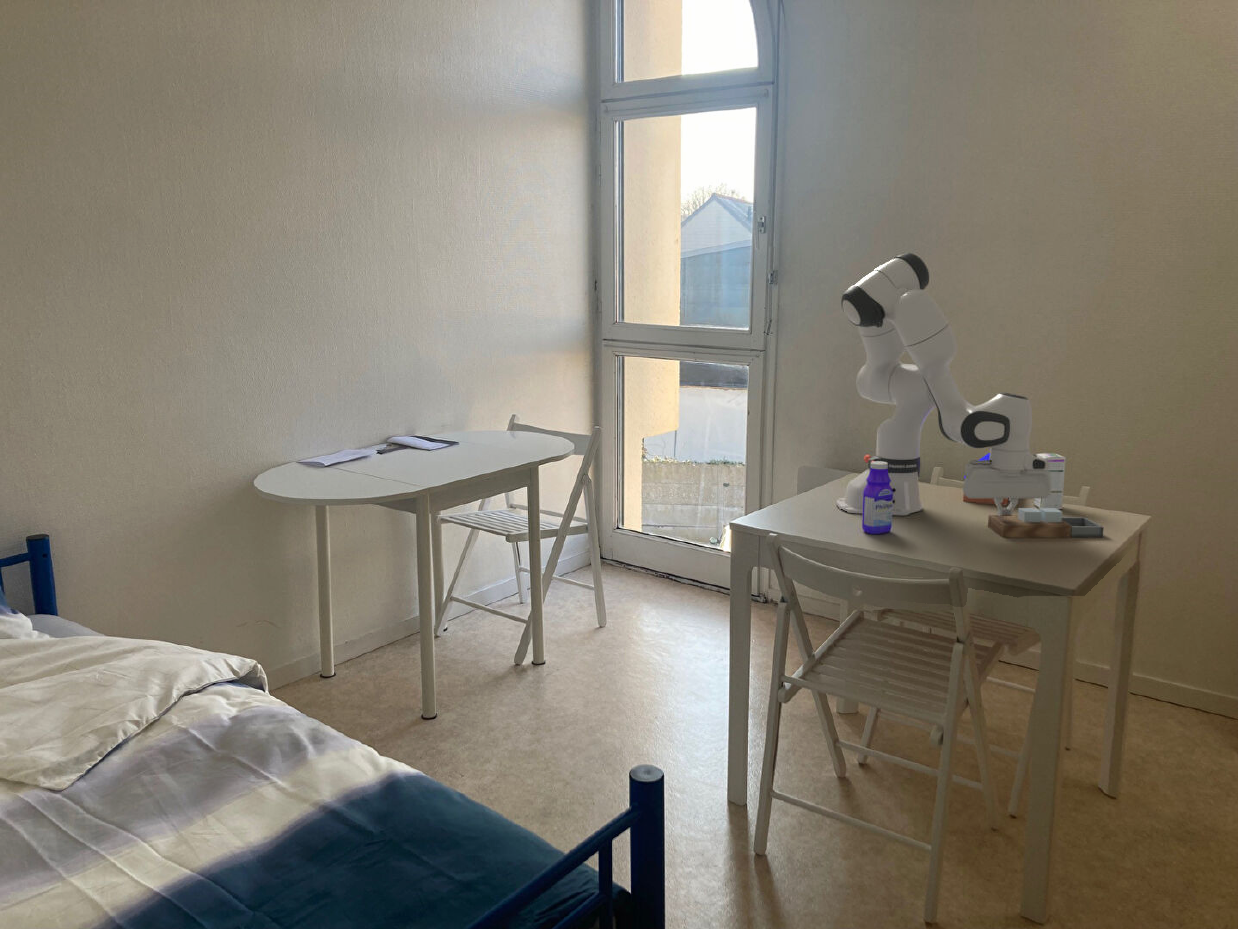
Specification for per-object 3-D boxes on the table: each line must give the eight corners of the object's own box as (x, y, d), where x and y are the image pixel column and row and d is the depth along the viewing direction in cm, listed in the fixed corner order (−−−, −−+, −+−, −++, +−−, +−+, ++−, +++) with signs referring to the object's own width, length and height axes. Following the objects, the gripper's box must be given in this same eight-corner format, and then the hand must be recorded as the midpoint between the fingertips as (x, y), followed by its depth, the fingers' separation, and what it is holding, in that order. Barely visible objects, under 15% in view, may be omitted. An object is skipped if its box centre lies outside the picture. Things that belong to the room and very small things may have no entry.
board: (1002, 537, 228) (1003, 525, 227) (987, 526, 238) (988, 515, 237) (1070, 537, 227) (1071, 525, 227) (1052, 526, 237) (1053, 515, 237)
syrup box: (1062, 510, 254) (1067, 457, 251) (1040, 510, 254) (1044, 457, 251) (1053, 505, 259) (1057, 453, 257) (1031, 505, 259) (1035, 453, 257)
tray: (1071, 537, 228) (1071, 527, 227) (1053, 526, 237) (1054, 517, 236) (1102, 537, 227) (1103, 527, 227) (1084, 526, 237) (1085, 517, 236)
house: (961, 502, 264) (964, 461, 262) (968, 488, 282) (970, 449, 280) (1008, 506, 259) (1011, 464, 257) (1011, 491, 277) (1014, 452, 275)
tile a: (1044, 522, 230) (1045, 512, 229) (1038, 518, 234) (1038, 508, 233) (1061, 522, 230) (1062, 512, 229) (1054, 518, 234) (1055, 508, 233)
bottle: (873, 536, 229) (876, 465, 226) (857, 531, 234) (860, 461, 231) (895, 532, 232) (899, 463, 229) (879, 527, 237) (882, 459, 234)
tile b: (1024, 522, 230) (1024, 512, 229) (1017, 518, 234) (1018, 508, 233) (1040, 522, 230) (1041, 512, 229) (1033, 518, 234) (1034, 508, 233)
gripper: (970, 462, 226) (966, 518, 229) (1056, 462, 226) (1051, 518, 228) (961, 457, 232) (957, 512, 235) (1045, 457, 232) (1041, 512, 235)
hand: (1004, 515), depth 232 cm, fingers closed
